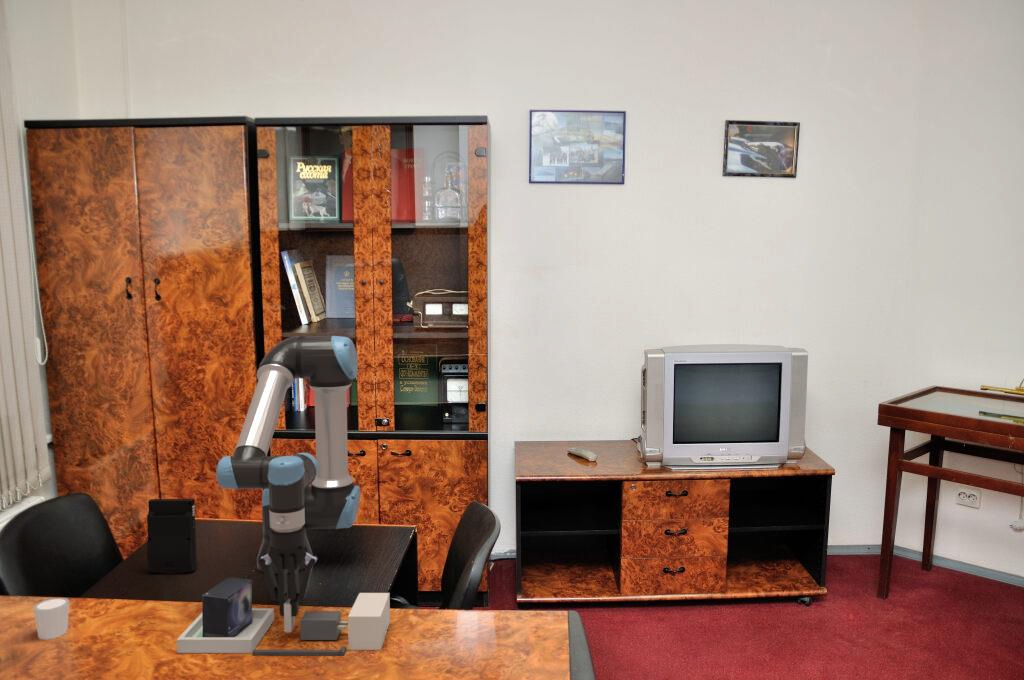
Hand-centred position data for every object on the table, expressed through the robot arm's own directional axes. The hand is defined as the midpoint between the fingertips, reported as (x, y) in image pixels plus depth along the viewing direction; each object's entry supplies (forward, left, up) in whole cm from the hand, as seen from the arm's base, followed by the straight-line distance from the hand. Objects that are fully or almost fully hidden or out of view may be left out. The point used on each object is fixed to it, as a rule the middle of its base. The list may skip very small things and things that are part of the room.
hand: (289, 629), depth 164 cm
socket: (0, +17, -2) cm, 17 cm away
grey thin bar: (+8, +4, -2) cm, 9 cm away
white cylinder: (-1, -54, -2) cm, 54 cm away
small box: (0, -14, -1) cm, 14 cm away
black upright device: (-36, -43, -2) cm, 56 cm away
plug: (0, +7, -2) cm, 7 cm away
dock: (0, -14, -2) cm, 14 cm away
